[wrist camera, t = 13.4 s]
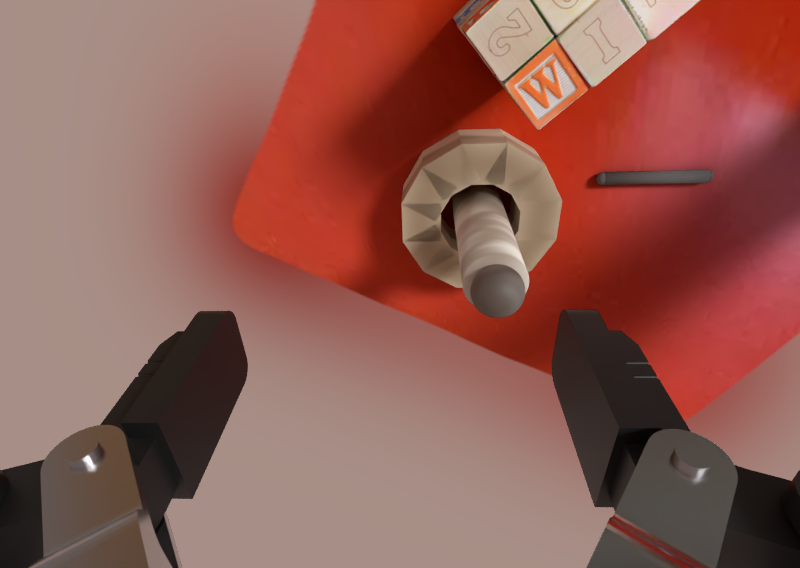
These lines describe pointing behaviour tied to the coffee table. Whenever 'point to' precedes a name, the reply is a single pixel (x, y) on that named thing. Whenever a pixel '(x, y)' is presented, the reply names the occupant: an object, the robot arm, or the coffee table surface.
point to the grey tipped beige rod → (488, 252)
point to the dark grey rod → (655, 177)
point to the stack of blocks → (560, 44)
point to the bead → (477, 165)
